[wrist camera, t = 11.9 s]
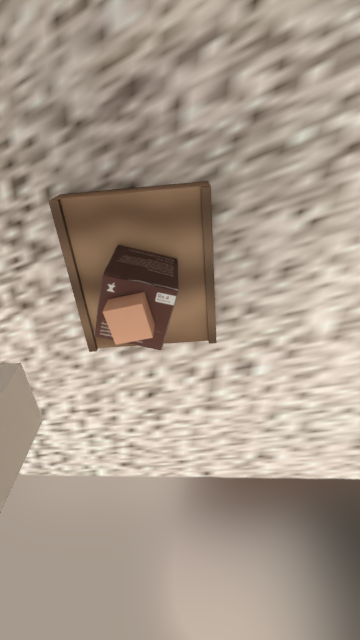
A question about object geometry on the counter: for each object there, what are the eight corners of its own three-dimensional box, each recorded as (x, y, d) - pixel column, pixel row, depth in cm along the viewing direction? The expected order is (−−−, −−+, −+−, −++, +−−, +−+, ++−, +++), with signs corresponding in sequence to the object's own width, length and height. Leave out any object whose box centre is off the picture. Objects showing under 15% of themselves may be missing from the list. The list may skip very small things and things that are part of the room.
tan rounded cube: (107, 299, 26) (102, 311, 25) (144, 291, 26) (141, 303, 24) (119, 331, 28) (115, 344, 26) (154, 324, 27) (152, 337, 26)
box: (107, 298, 34) (91, 337, 28) (117, 242, 31) (101, 271, 25) (165, 311, 35) (162, 352, 29) (180, 258, 32) (179, 290, 26)
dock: (59, 194, 32) (48, 201, 29) (208, 181, 31) (210, 186, 28) (95, 336, 40) (89, 351, 37) (213, 327, 39) (216, 343, 36)
